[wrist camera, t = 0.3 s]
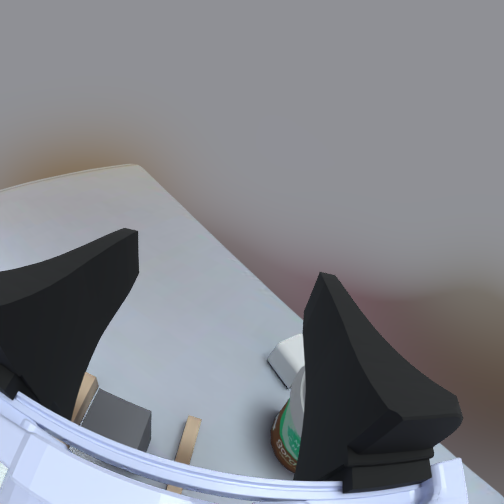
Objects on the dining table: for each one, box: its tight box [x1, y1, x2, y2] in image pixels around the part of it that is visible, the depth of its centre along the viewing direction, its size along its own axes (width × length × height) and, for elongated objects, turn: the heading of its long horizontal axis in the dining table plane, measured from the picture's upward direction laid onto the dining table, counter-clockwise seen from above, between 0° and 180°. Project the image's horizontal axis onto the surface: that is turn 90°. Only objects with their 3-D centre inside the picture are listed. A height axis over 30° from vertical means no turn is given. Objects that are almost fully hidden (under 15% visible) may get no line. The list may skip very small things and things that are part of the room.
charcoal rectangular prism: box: [81, 388, 151, 452], centre depth 17 cm, size 4×4×8 cm
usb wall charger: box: [267, 334, 305, 389], centre depth 31 cm, size 4×7×4 cm, turn 33°
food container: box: [271, 365, 306, 473], centre depth 21 cm, size 12×6×10 cm, turn 49°
